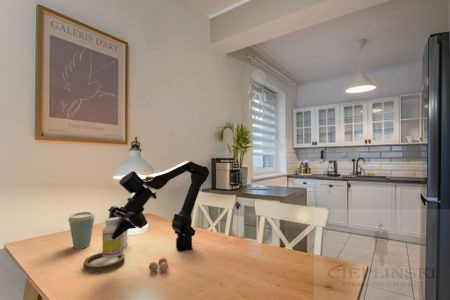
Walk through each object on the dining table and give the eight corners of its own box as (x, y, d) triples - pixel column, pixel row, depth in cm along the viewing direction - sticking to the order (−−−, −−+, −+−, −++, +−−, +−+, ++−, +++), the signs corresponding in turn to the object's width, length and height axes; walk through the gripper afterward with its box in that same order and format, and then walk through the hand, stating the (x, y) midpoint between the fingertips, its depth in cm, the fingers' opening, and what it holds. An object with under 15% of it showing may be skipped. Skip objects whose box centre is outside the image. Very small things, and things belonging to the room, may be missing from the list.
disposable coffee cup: (92, 248, 107) (93, 215, 107) (64, 252, 103) (65, 217, 103) (95, 241, 117) (96, 210, 117) (70, 244, 113) (71, 212, 113)
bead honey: (166, 264, 92) (166, 256, 92) (167, 267, 89) (167, 259, 89) (158, 265, 91) (158, 257, 91) (158, 269, 88) (158, 260, 88)
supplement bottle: (110, 251, 88) (109, 216, 89) (126, 251, 87) (126, 216, 88) (98, 258, 82) (98, 220, 82) (116, 258, 81) (115, 220, 82)
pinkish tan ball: (167, 268, 88) (167, 260, 88) (168, 272, 85) (168, 263, 85) (158, 270, 87) (158, 261, 87) (159, 274, 84) (159, 265, 84)
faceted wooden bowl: (125, 254, 100) (125, 249, 101) (123, 269, 87) (123, 263, 87) (88, 259, 96) (88, 253, 96) (79, 275, 83) (79, 269, 83)
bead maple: (157, 268, 88) (157, 259, 88) (158, 272, 85) (158, 263, 85) (148, 269, 87) (148, 261, 87) (148, 273, 84) (149, 264, 84)
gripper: (164, 216, 90) (136, 255, 82) (140, 209, 103) (114, 241, 94) (145, 199, 84) (113, 238, 76) (122, 193, 97) (92, 226, 89)
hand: (108, 236), depth 84 cm, fingers closed on supplement bottle, 6 cm apart
